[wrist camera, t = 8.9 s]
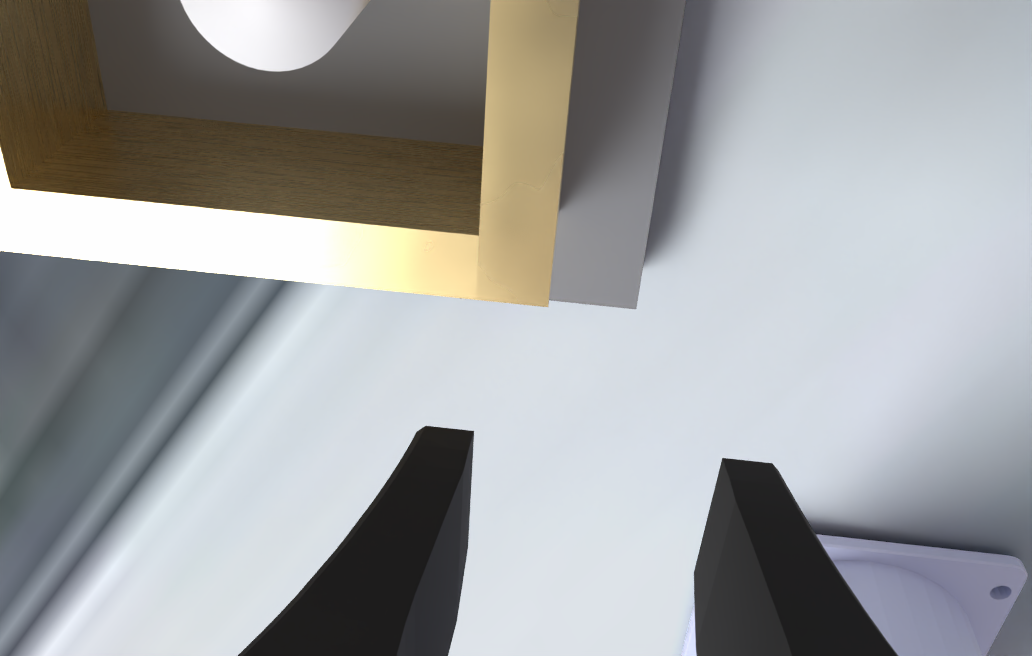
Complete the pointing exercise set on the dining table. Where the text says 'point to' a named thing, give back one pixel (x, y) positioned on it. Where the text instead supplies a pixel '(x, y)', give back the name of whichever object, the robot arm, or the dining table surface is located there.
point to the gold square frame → (287, 173)
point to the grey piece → (417, 94)
